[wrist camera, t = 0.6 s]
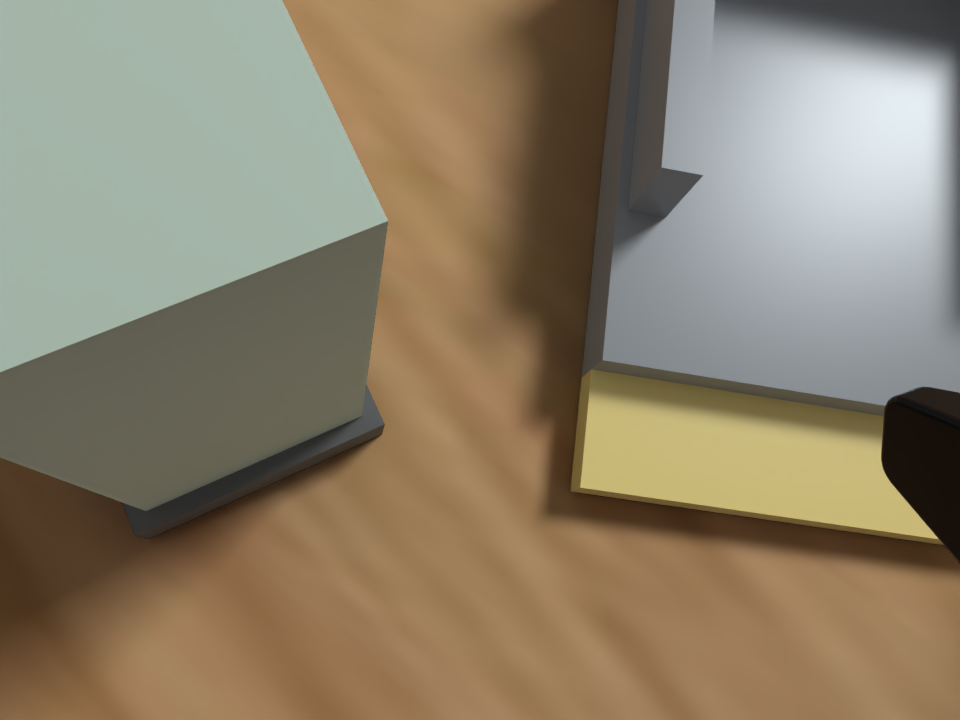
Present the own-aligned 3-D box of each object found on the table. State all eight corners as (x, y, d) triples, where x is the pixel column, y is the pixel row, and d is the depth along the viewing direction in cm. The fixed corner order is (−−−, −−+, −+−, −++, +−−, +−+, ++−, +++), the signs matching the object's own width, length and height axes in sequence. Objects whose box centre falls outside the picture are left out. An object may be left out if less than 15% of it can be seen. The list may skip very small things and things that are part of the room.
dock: (1001, 553, 25) (1205, 544, 19) (570, 491, 23) (646, 461, 17) (989, 10, 29) (1151, -133, 23) (625, -69, 27) (701, -242, 22)
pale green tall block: (382, 434, 23) (436, 240, 10) (148, 538, 21) (-145, 472, 8) (286, 227, 24) (222, -201, 11) (57, 314, 22) (-335, -57, 9)
